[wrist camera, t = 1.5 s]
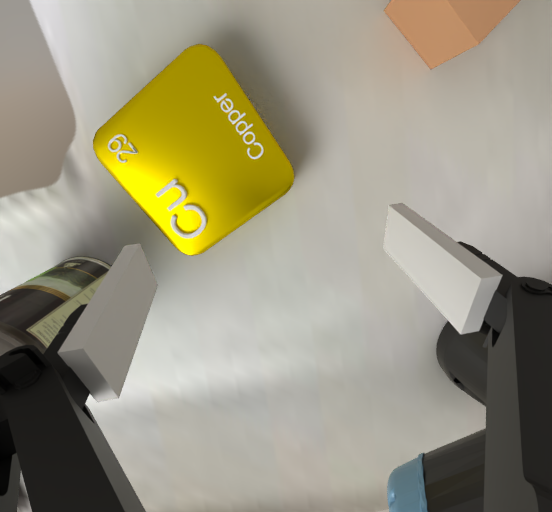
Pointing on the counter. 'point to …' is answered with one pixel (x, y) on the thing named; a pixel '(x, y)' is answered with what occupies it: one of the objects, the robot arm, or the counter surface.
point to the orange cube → (446, 24)
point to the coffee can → (47, 302)
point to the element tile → (194, 152)
